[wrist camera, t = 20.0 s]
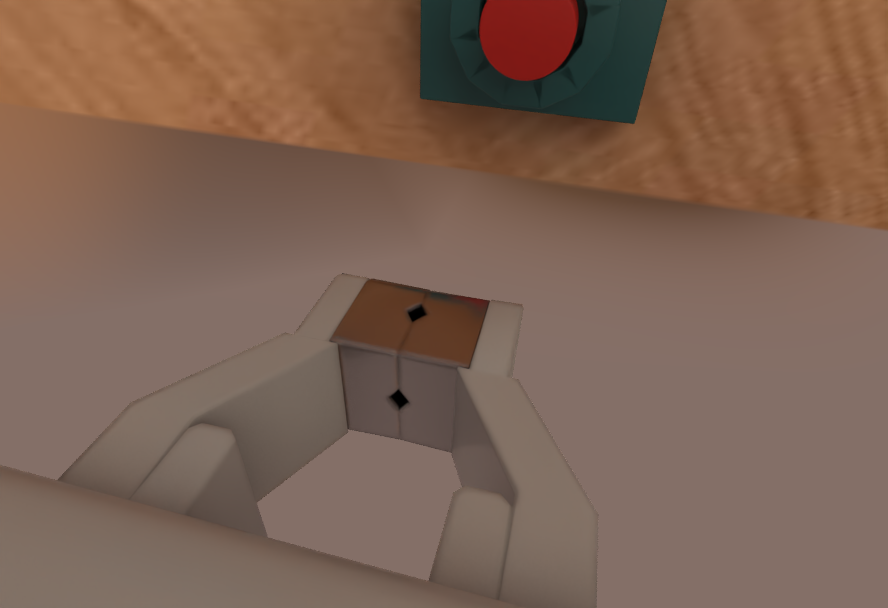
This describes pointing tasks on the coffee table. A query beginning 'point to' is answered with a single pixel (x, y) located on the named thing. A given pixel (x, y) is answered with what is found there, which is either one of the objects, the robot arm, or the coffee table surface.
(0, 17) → the coffee table surface
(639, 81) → the box
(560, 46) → the button
